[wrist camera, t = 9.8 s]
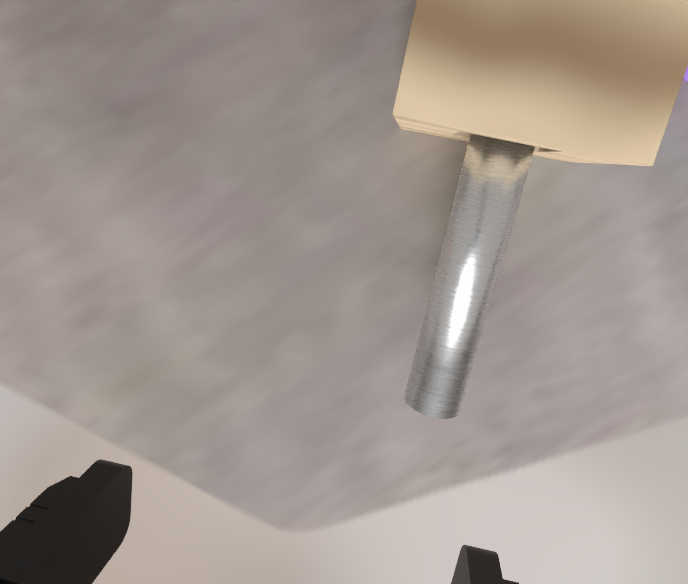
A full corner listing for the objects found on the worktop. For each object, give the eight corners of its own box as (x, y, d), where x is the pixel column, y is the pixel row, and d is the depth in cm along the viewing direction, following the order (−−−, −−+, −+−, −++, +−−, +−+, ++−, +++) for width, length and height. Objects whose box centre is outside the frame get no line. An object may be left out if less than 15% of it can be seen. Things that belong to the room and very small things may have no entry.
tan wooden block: (432, -16, 30) (442, -123, 18) (609, 16, 29) (736, -75, 18) (401, 128, 32) (392, 114, 20) (565, 161, 31) (652, 166, 20)
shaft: (495, 23, 25) (505, 6, 22) (559, 35, 24) (578, 19, 21) (404, 385, 30) (403, 410, 27) (456, 397, 30) (461, 423, 27)
